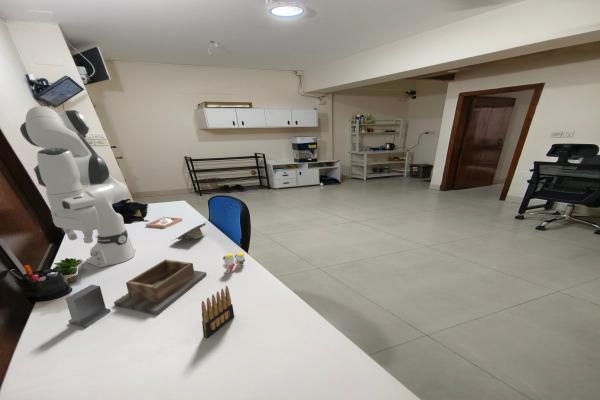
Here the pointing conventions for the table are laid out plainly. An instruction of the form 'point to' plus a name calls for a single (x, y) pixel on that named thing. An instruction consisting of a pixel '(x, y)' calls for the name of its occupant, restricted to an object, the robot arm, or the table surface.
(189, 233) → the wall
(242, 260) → the toy figures
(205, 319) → the bullet clip
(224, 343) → the table surface
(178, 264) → the well box
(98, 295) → the metal bracket
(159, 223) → the rose
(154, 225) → the orange square frame
